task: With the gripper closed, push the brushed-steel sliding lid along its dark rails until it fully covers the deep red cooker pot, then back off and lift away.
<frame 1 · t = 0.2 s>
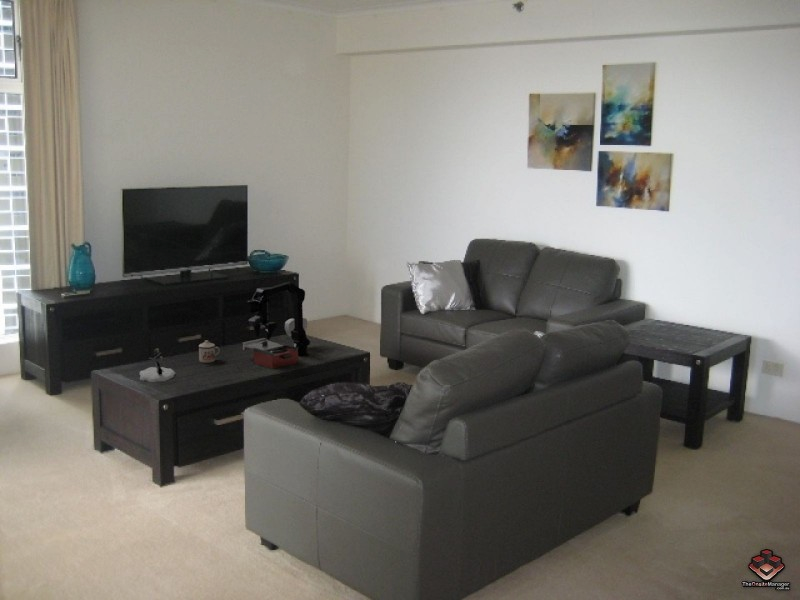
hand: (262, 338, 484), 14 cm above the table, fingers open, 9 cm apart
figurine: (156, 377, 459), on the table
teacup with lid: (209, 360, 490), on the table
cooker: (276, 362, 489), on the table
heart sculpture: (296, 347, 522), on the table
lid: (263, 345, 494), point 8 cm above the table, slide at 10.0 cm
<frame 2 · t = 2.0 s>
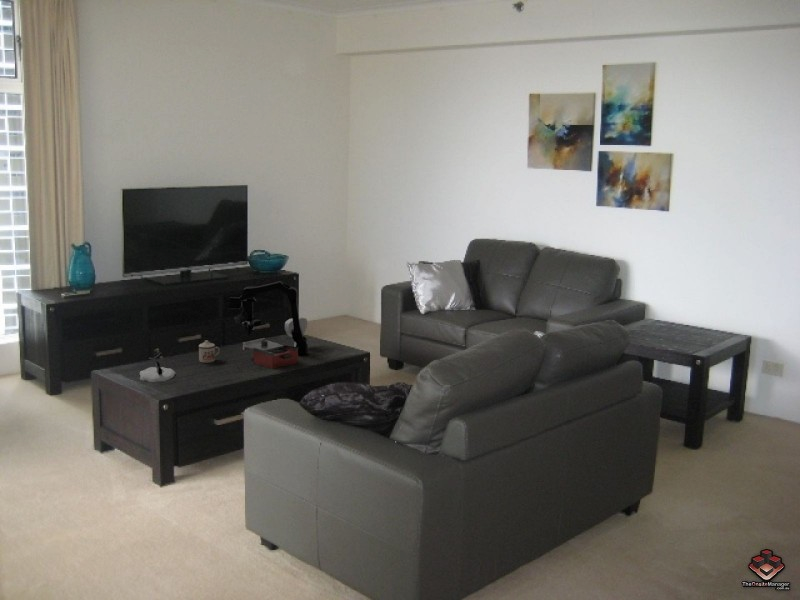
hand: (248, 335, 503), 11 cm above the table, fingers closed
nothing on the table moved.
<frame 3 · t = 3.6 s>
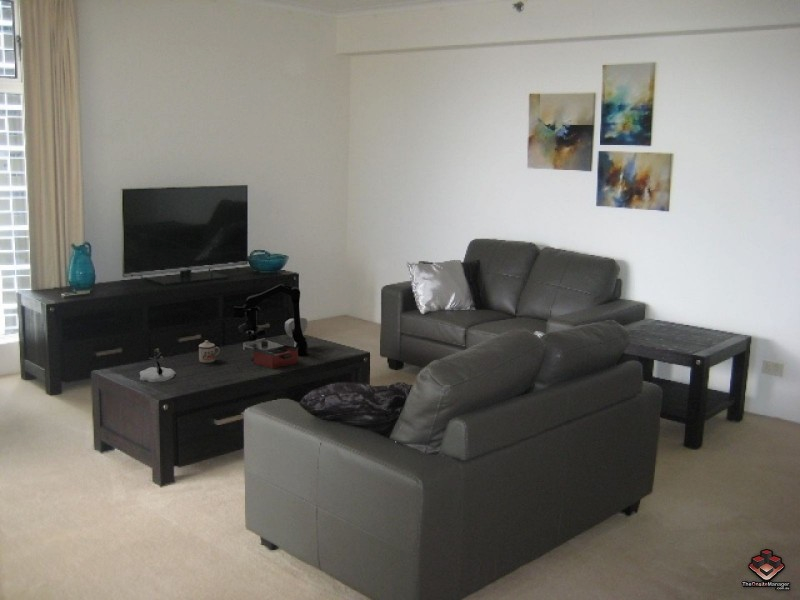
hand: (252, 344, 502), 6 cm above the table, fingers closed
lid: (263, 345, 494), point 8 cm above the table, slide at 9.8 cm, touching gripper
everything else where it was.
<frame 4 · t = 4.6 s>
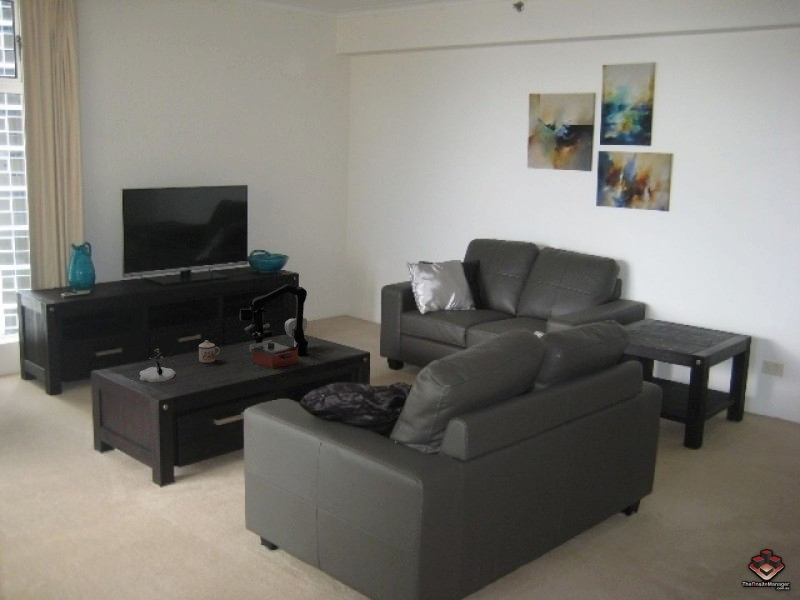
hand: (258, 346, 498), 6 cm above the table, fingers closed
lid: (270, 347, 491), point 8 cm above the table, slide at 4.1 cm, touching gripper
everything else where it was.
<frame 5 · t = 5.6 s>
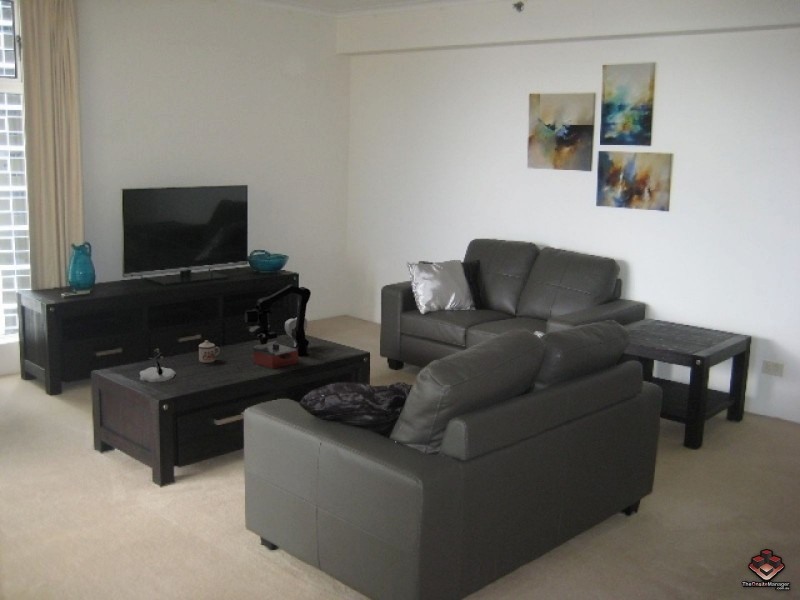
hand: (263, 347, 495), 6 cm above the table, fingers closed
lid: (275, 349, 488), point 8 cm above the table, slide at -0.1 cm, touching gripper
everything else where it was.
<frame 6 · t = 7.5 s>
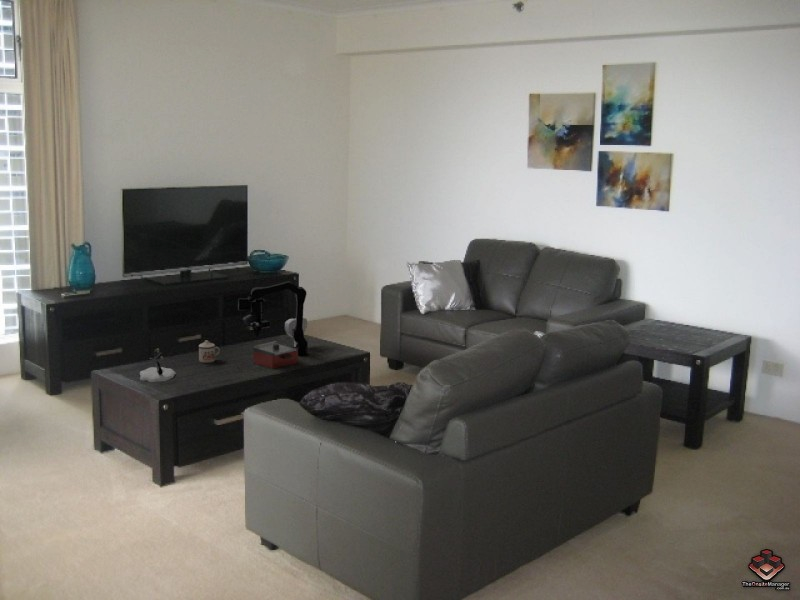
hand: (256, 336, 498), 12 cm above the table, fingers closed
lid: (275, 349, 488), point 8 cm above the table, slide at 0.0 cm
everything else where it was.
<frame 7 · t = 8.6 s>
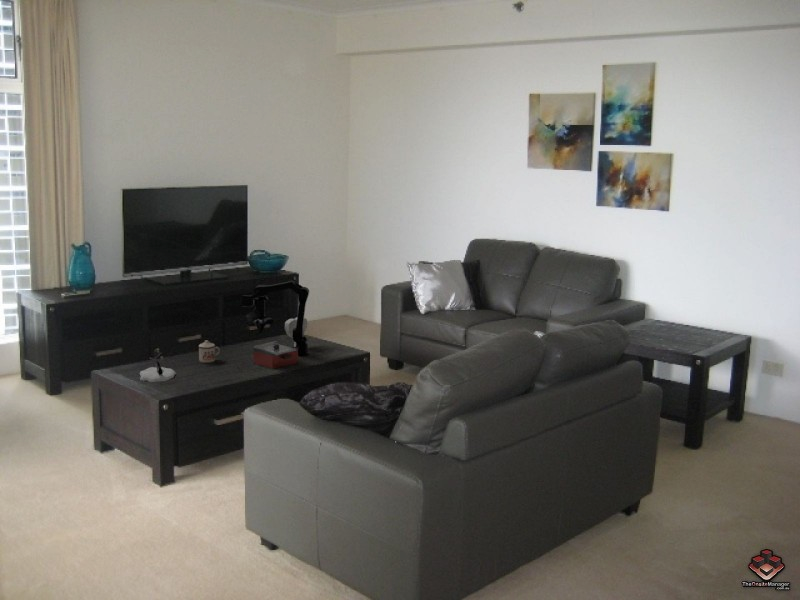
hand: (260, 333, 505), 12 cm above the table, fingers closed
nothing on the table moved.
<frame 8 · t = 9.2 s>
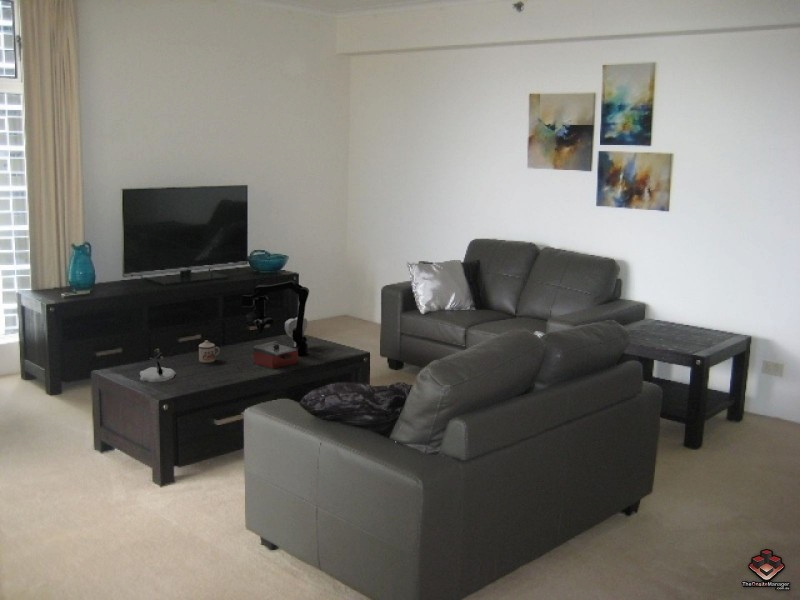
hand: (260, 333, 505), 12 cm above the table, fingers closed
nothing on the table moved.
at the end: lid slide at 0.0 cm; teacup with lid moved 0.2 cm from its start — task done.
